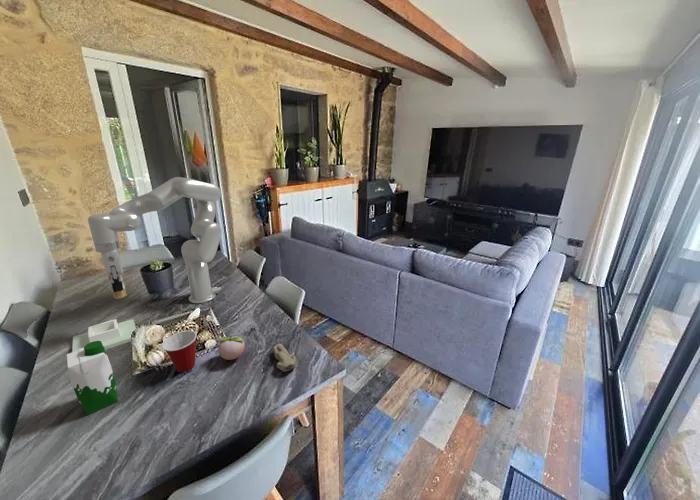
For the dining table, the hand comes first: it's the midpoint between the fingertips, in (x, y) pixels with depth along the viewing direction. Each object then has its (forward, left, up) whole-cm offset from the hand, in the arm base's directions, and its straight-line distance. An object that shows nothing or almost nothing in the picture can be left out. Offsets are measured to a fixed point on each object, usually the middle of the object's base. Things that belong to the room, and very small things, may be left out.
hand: (117, 288), depth 117 cm
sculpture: (-41, +60, -20) cm, 76 cm away
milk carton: (+11, +40, -20) cm, 46 cm away
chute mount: (+8, +2, -20) cm, 22 cm away
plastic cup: (-13, +40, -20) cm, 47 cm away
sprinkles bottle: (0, 0, -4) cm, 4 cm away
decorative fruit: (-27, +47, -20) cm, 58 cm away
